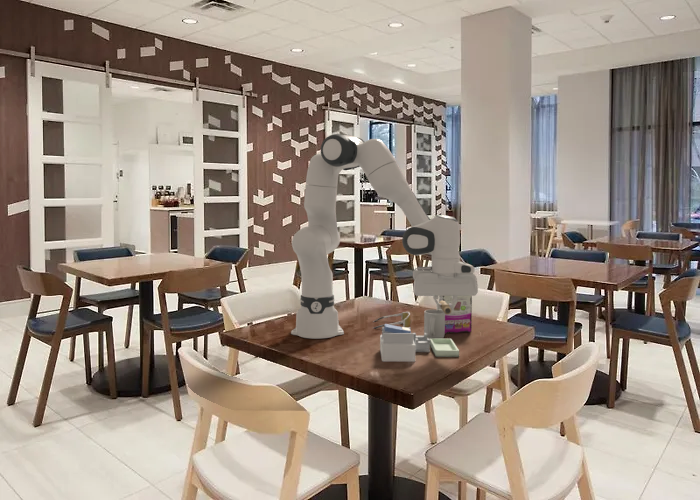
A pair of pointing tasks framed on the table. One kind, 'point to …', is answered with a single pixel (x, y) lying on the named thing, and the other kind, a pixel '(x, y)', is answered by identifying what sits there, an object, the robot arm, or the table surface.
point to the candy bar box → (458, 314)
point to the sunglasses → (404, 319)
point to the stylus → (445, 307)
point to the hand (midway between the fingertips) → (444, 309)
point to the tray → (444, 347)
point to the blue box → (396, 329)
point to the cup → (434, 323)
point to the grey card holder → (397, 346)
